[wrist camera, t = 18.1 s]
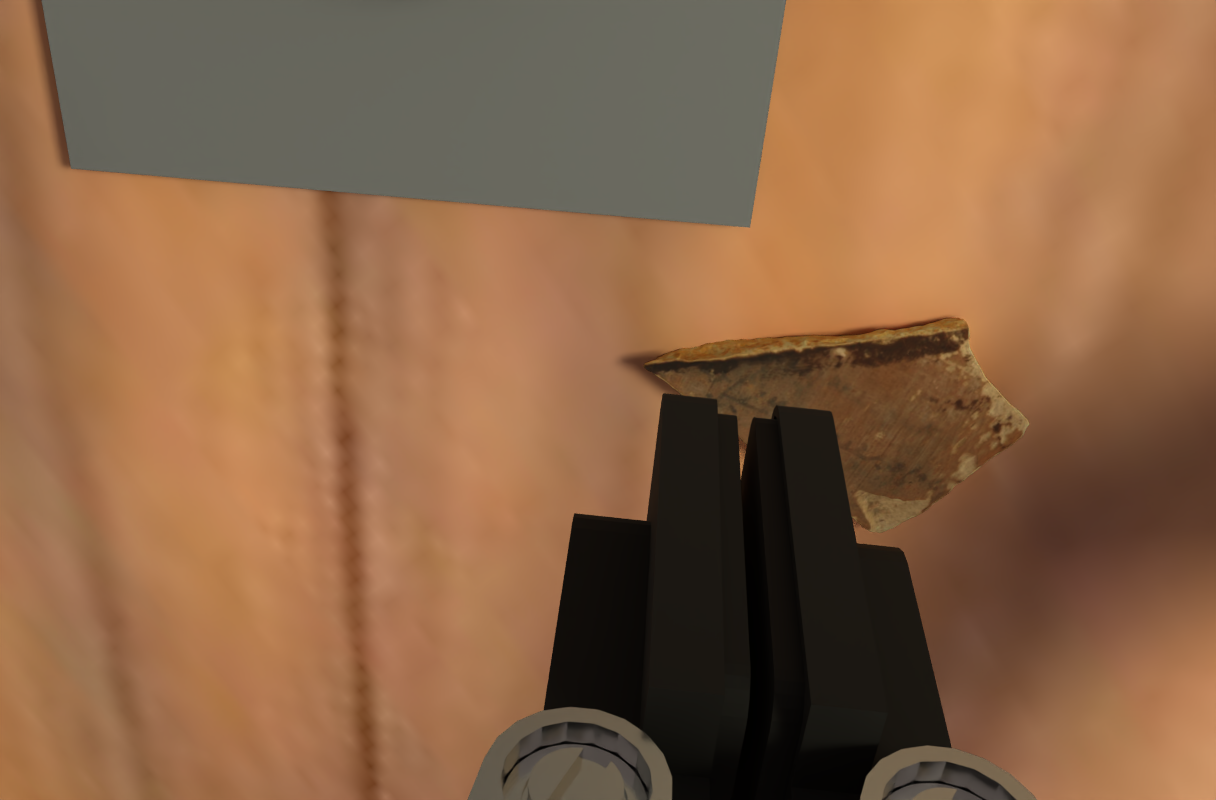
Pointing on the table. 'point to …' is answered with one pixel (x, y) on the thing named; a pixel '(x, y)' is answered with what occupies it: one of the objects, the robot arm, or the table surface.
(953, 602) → the table surface
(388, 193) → the slate mat
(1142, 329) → the table surface
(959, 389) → the shard
